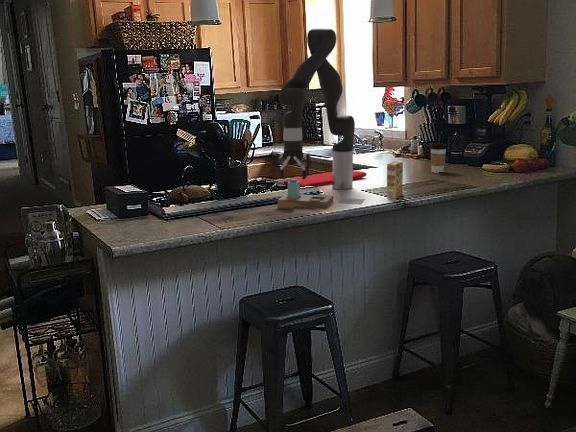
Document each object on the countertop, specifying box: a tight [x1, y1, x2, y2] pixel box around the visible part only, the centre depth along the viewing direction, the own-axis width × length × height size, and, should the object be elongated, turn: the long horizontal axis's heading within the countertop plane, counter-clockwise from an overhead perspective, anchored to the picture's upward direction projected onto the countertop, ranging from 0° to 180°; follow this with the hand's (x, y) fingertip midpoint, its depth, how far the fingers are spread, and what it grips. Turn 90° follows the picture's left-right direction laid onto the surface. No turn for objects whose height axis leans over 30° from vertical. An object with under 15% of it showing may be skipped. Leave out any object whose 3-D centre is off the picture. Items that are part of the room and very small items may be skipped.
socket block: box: [277, 193, 334, 210], centre depth 258 cm, size 12×20×4 cm, turn 74°
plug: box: [287, 179, 301, 199], centre depth 258 cm, size 4×4×11 cm
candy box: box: [386, 161, 404, 199], centre depth 269 cm, size 9×4×15 cm, turn 150°
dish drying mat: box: [282, 169, 368, 188], centre depth 311 cm, size 16×41×4 cm, turn 127°
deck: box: [336, 197, 366, 205], centre depth 262 cm, size 10×10×1 cm
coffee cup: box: [430, 142, 448, 174], centre depth 331 cm, size 8×8×15 cm
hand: (293, 178), depth 257 cm, fingers open, 8 cm apart
